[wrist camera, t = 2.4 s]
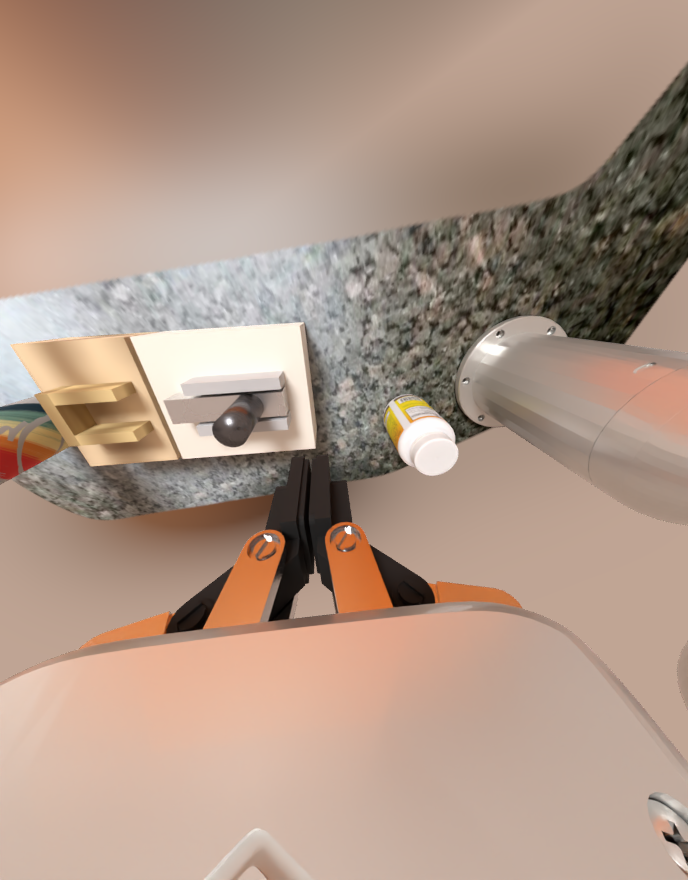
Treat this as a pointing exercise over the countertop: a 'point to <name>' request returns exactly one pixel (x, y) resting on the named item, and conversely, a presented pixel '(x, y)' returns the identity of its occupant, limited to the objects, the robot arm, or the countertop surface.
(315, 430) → the white slotted base
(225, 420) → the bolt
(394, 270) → the countertop surface
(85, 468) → the countertop surface
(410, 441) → the supplement bottle
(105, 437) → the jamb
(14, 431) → the lotion bottle
